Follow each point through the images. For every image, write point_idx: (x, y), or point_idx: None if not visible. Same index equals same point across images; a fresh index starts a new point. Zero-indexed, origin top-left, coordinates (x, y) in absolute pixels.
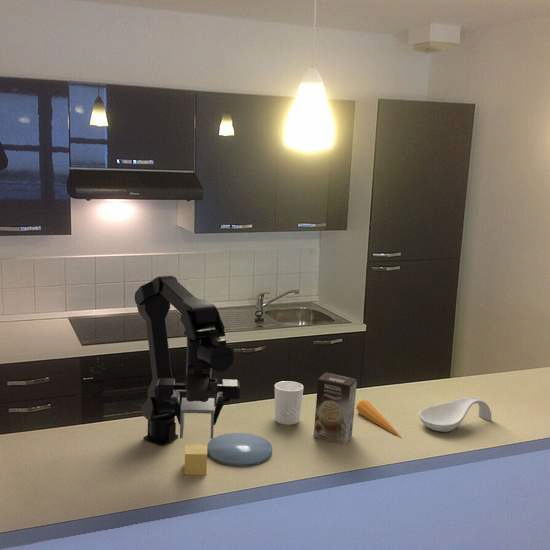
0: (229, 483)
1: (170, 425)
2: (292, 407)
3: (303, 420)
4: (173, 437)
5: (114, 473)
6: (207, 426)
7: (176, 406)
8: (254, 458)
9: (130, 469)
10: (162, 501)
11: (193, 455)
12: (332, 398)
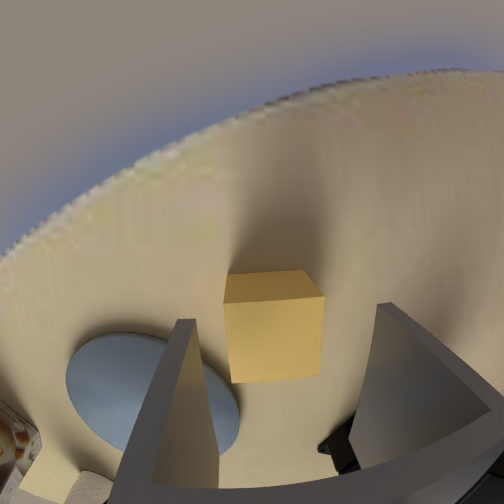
0: (144, 216)
1: (353, 459)
2: (76, 494)
3: (77, 474)
4: (333, 439)
5: (465, 257)
6: (249, 484)
7: (498, 458)
8: (89, 353)
9: (439, 283)
10: (351, 95)
11: (285, 297)
12: None
